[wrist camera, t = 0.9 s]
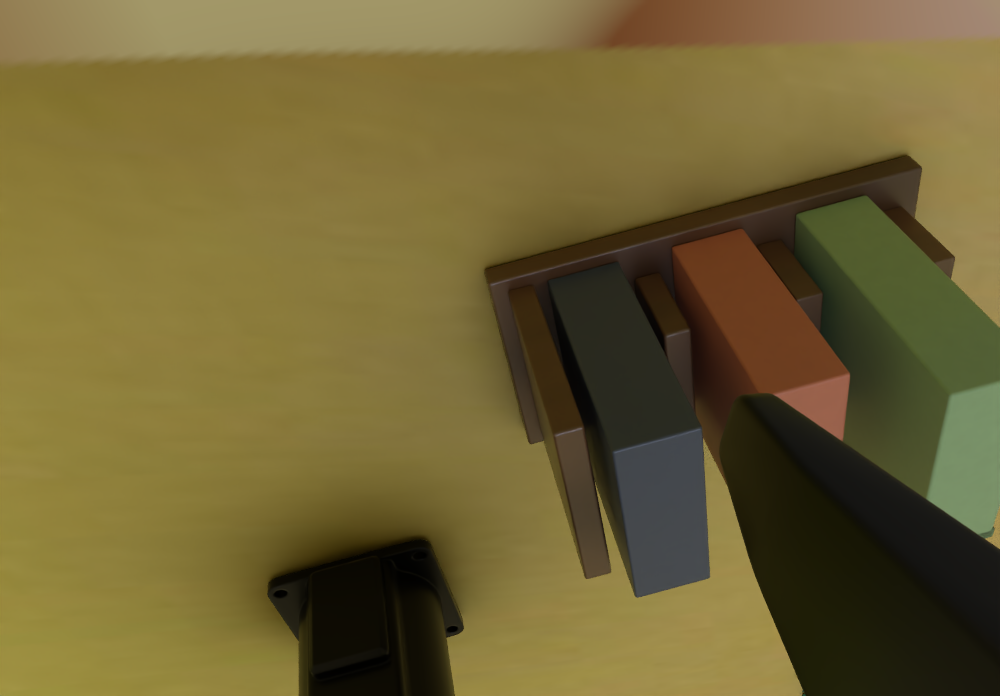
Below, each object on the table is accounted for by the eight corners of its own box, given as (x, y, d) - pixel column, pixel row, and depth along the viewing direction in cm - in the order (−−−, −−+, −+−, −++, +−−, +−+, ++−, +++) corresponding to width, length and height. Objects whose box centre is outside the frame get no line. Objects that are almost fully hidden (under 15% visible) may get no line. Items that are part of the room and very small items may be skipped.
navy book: (636, 408, 29) (711, 578, 24) (575, 425, 29) (636, 599, 24) (618, 260, 25) (703, 427, 20) (546, 279, 25) (612, 452, 20)
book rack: (883, 332, 30) (1002, 475, 25) (525, 429, 30) (571, 592, 25) (908, 154, 26) (1062, 285, 20) (483, 268, 25) (529, 429, 20)
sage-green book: (850, 351, 29) (993, 537, 23) (786, 368, 29) (912, 559, 23) (868, 193, 25) (1047, 369, 19) (793, 213, 25) (949, 396, 19)
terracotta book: (743, 379, 29) (833, 532, 24) (681, 396, 29) (759, 552, 24) (742, 227, 25) (851, 373, 20) (670, 245, 25) (762, 397, 20)
